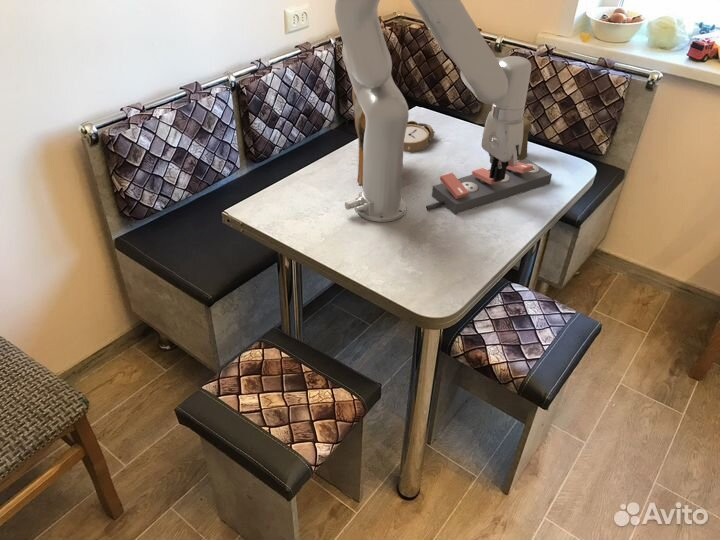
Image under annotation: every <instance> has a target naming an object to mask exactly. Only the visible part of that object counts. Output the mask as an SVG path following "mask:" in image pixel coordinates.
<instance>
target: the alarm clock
mask: <svg viewBox="0 0 720 540" xmlns="http://www.w3.org/2000/svg"><path fill="white" fill-rule="evenodd" d="M435 133H436V131H434V129H433V127H432V126H431V125H430V124H428V123H423V122H420V123H418V122H417V121H415V120H408V123H407V128H406V132H405V139H404V150H403V152H410V153H411V152H412V153H413V152H420V151H422V150H424V149H426V148H427V146H429V142H431V141H432V140H433V139H434V138H435Z"/></svg>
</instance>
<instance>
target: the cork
mask: <svg viewBox="0 0 720 540" xmlns="http://www.w3.org/2000/svg"><path fill="white" fill-rule="evenodd" d="M522 120H523V142H522V149H521V153H520V156H519V158H517V161H520V160H524V159H528V145H529V144H528V142H529V133H530V132H531V129H532V122H531V121H530V120H529V119H527V118H524V117H523V119H522Z"/></svg>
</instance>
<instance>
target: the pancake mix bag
mask: <svg viewBox="0 0 720 540" xmlns="http://www.w3.org/2000/svg"><path fill="white" fill-rule="evenodd" d="M351 93H352V94H351V98H352V104H353V111H354V126H355V130H356V134H357V139H358V169H357V184H358V185H363V144H364V134H365V128H366V118H365V114H364V112H363V110H362V108H361V106H360V104H359V102H358V100H357V97H356V94H355V92H354V89H353V88H352V90H351Z"/></svg>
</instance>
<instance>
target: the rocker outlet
mask: <svg viewBox="0 0 720 540" xmlns="http://www.w3.org/2000/svg"><path fill="white" fill-rule="evenodd" d="M506 169H509V170H511V172H512V173H517V172H520V173H525V172H528V171H532V170H533V166H532V165H528V164H524V163H520V162H517V166H514V167H511V166H508V167H507V168H506Z"/></svg>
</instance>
